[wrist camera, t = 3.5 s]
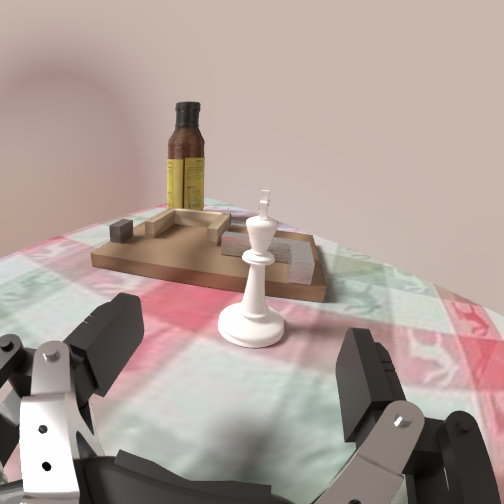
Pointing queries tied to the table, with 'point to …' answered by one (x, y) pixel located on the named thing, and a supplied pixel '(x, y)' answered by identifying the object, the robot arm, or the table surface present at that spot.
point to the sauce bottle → (186, 160)
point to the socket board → (198, 254)
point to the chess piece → (254, 290)
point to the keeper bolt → (276, 254)
